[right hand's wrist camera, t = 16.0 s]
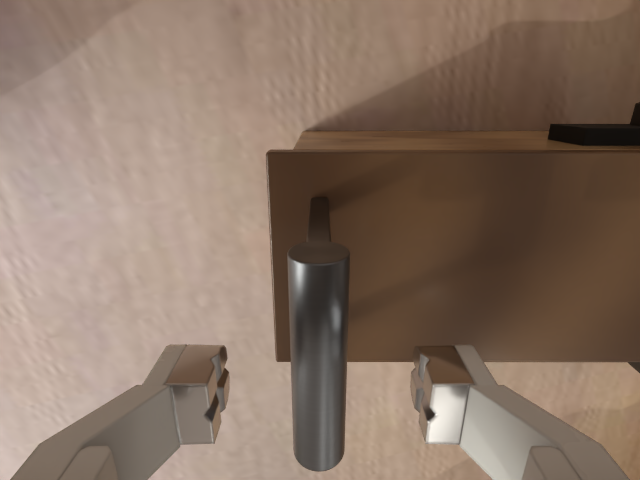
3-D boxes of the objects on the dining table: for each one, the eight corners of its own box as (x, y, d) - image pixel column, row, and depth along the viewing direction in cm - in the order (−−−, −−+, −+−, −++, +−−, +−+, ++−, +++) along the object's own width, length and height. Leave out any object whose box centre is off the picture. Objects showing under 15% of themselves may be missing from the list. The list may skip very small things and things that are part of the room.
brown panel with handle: (277, 350, 19) (250, 510, 11) (268, 149, 15) (221, 195, 8) (641, 351, 19) (843, 511, 11) (711, 149, 15) (1061, 196, 8)
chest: (304, 271, 27) (297, 350, 19) (302, 130, 24) (292, 149, 15) (540, 271, 27) (640, 350, 19) (571, 130, 24) (710, 149, 15)
